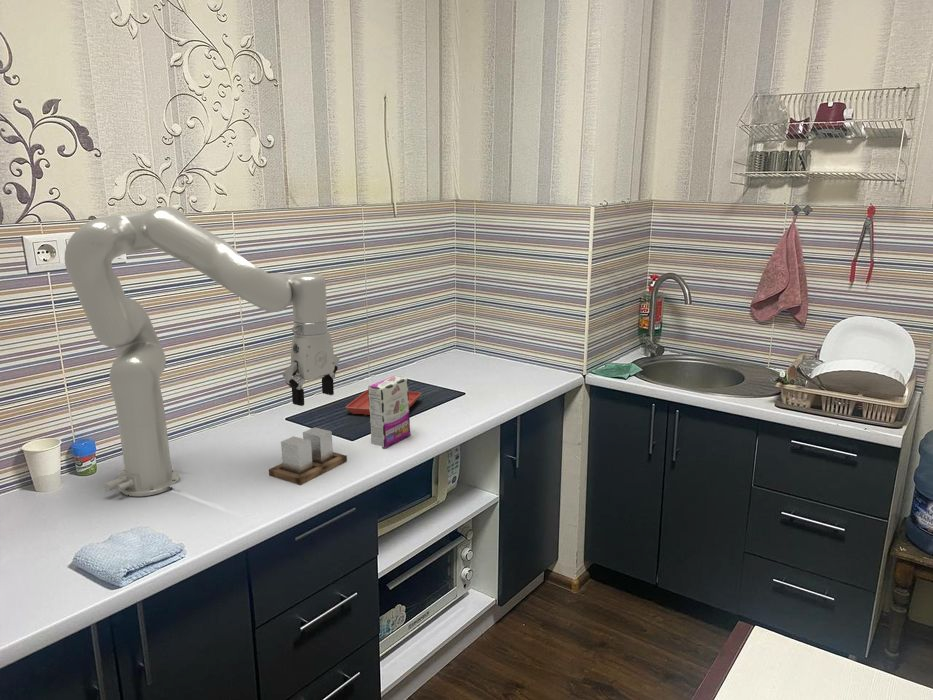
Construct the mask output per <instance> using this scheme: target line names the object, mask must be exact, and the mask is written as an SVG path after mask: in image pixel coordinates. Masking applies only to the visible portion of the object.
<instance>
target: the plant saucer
mask: <svg viewBox="0 0 933 700" xmlns="http://www.w3.org/2000/svg"><path fill="white" fill-rule="evenodd" d="M408 395H409V409H410V408H411V407H412V406H413V405H414V404H415V403H416V402H417V401H418V399H419V398H420V397H421V395H422V392H419V391H408ZM345 409H346V410H347V411H349V412H350V413H351V414H352V415H354V414H364V415H363V416H367V415H370V409H369V393H368V389H366V390H365V391H364V392H362V393H361V394H360V395H358V396H357V397H356V398H355V399H354V400H352V401H351V402H350V403H348V404H347V405H346V406H345Z"/></svg>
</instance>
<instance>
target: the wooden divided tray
mask: <svg viewBox="0 0 933 700" xmlns="http://www.w3.org/2000/svg"><path fill="white" fill-rule="evenodd" d="M347 462H348V455H346V454H342V453H338V452H335V451H333V459H332V460H330V461H328V462H326V463H324V464H319V463H315V462H312V465H313V469H311V470H309V471H307V472H305V473H303V474H301V475H298V474H295V473H291V472H288V471H285V470H283V462H282V463H279V464H277V465H275V466H273V467H271V468H268V475H269V477H273V478H276V479H279V480H281V481H285V482H289V483H292V484H294V485H299V486H302V485H304V484H306V483H308V482H309V481H311V480H314V479H316V478H318V477H319V476H321V475H324V474H326V473H328V472H329V471H332V470H333V469H336V468H338V467H339V466H341V465H343V464H345V463H347Z"/></svg>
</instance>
